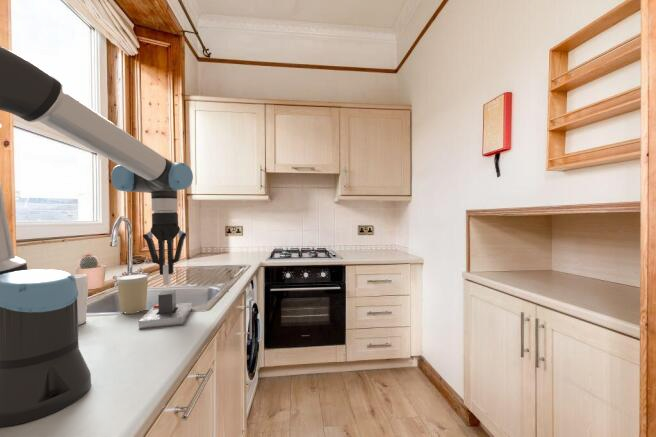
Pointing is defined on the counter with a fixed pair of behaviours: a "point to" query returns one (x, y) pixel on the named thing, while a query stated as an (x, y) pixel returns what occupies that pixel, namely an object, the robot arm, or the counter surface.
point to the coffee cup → (132, 293)
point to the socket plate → (165, 317)
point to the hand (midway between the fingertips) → (166, 284)
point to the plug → (167, 302)
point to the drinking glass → (82, 296)
